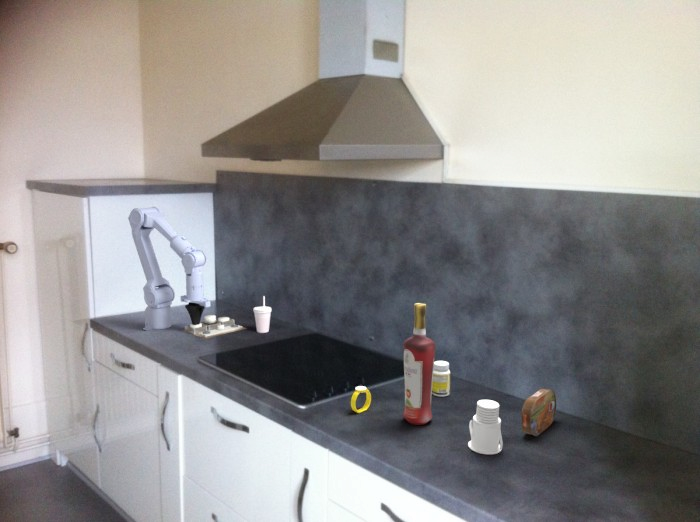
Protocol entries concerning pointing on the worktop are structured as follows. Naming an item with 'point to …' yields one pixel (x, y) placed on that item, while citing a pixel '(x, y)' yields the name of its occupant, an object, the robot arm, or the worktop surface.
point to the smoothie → (262, 317)
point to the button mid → (209, 319)
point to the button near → (195, 325)
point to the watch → (353, 400)
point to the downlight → (486, 428)
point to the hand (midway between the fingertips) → (195, 324)
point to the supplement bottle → (441, 379)
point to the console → (210, 328)
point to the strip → (220, 330)
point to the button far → (223, 319)
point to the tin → (538, 412)
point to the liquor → (418, 371)
